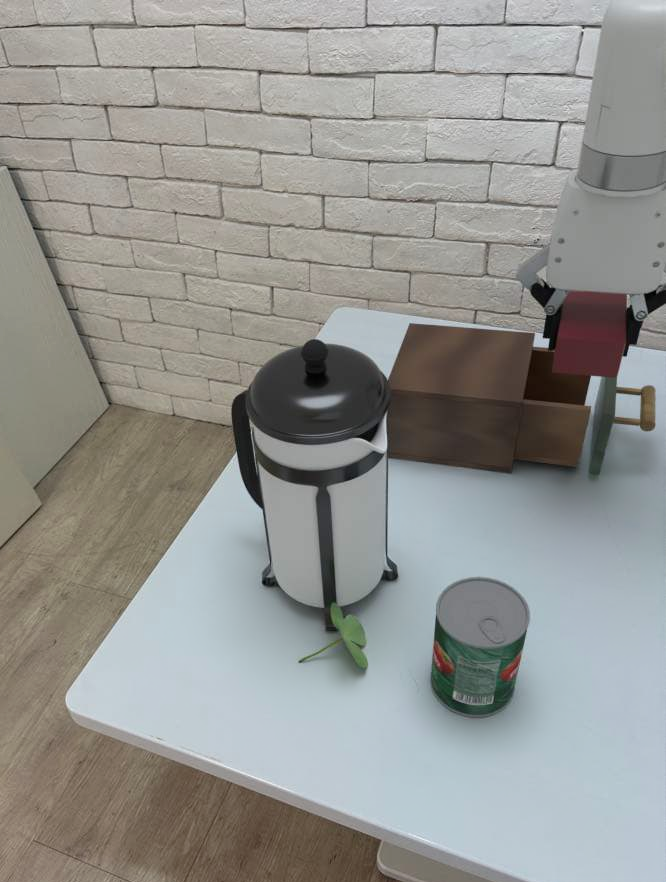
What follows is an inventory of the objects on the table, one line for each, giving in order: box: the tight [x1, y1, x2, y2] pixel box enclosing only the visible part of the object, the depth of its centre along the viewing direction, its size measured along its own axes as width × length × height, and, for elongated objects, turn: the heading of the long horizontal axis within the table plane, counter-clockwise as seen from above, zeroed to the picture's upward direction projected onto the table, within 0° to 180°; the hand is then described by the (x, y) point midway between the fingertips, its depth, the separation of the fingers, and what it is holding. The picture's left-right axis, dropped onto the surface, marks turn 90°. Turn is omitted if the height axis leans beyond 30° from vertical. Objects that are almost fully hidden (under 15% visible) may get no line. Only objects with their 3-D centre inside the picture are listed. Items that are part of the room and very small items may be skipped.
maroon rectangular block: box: [552, 291, 628, 379], centre depth 80 cm, size 9×6×4 cm
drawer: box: [514, 346, 657, 476], centre depth 96 cm, size 19×13×9 cm
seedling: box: [298, 602, 369, 669], centre depth 80 cm, size 7×8×6 cm
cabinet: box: [387, 322, 536, 474], centre depth 100 cm, size 16×15×11 cm
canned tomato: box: [429, 576, 531, 718], centre depth 73 cm, size 8×8×11 cm
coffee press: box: [230, 338, 399, 631], centre depth 78 cm, size 17×16×30 cm
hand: (587, 344), depth 81 cm, fingers closed on maroon rectangular block, 6 cm apart
